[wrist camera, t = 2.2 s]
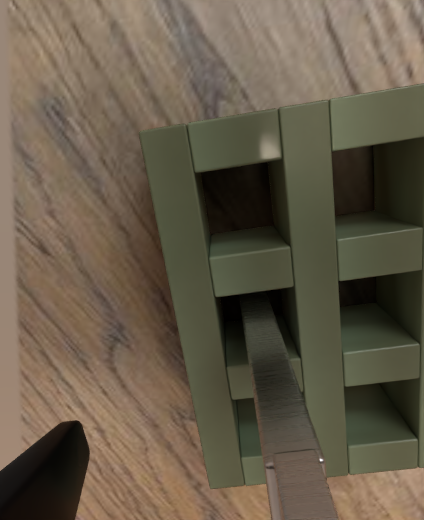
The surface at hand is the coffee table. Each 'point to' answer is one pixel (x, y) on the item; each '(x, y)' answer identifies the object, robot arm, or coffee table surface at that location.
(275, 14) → the coffee table surface
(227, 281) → the rack
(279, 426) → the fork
